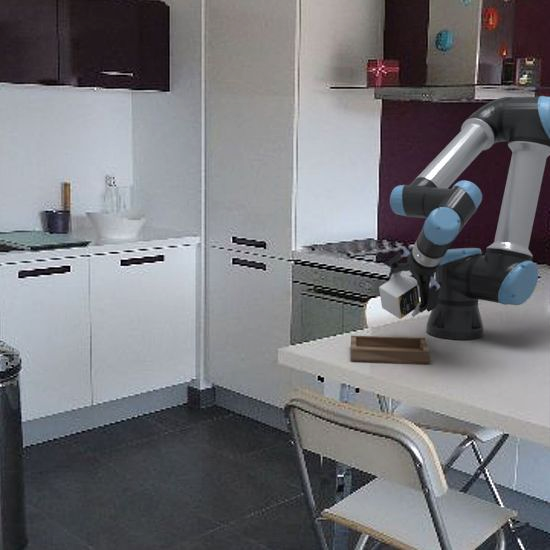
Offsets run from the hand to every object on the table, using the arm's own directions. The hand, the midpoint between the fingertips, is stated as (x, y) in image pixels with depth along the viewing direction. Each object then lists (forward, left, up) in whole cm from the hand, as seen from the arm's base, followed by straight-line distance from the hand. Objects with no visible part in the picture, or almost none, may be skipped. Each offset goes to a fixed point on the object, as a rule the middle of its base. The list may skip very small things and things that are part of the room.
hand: (403, 299), depth 222 cm
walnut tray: (+18, -4, -11) cm, 21 cm away
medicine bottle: (+7, -4, 0) cm, 8 cm away
